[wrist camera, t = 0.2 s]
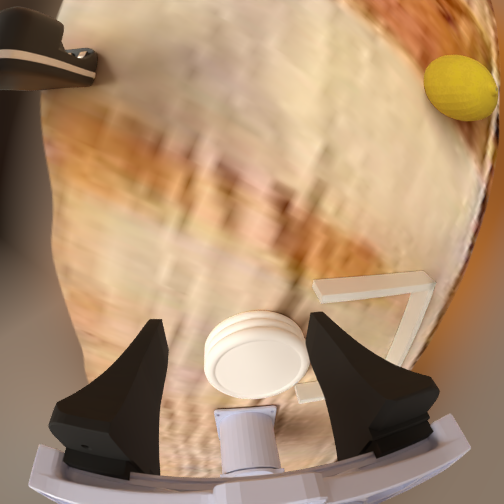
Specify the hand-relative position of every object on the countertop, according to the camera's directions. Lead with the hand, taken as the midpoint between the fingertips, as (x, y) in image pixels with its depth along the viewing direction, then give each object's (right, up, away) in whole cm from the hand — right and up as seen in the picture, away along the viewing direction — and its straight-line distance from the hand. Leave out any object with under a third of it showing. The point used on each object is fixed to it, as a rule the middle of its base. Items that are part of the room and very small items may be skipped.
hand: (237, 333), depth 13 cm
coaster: (+1, -6, +14) cm, 15 cm away
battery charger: (-14, +18, +1) cm, 23 cm away
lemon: (+16, +18, +4) cm, 25 cm away
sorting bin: (+12, -5, +15) cm, 20 cm away
